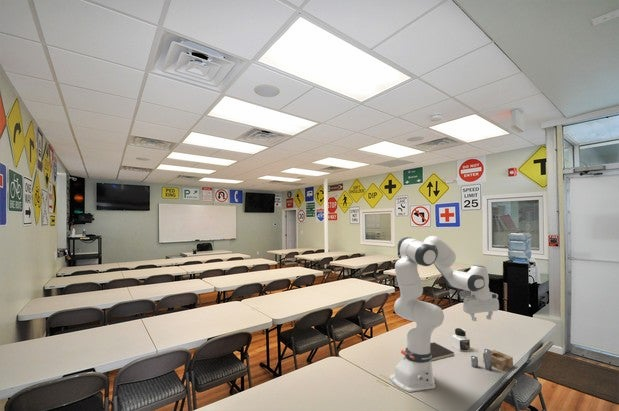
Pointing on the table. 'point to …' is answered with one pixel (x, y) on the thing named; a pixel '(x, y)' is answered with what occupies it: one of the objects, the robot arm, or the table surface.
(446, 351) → the hardcover book
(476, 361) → the short pin
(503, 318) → the table surface
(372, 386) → the table surface
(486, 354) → the long pin
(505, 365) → the hole block
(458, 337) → the medicine bottle
